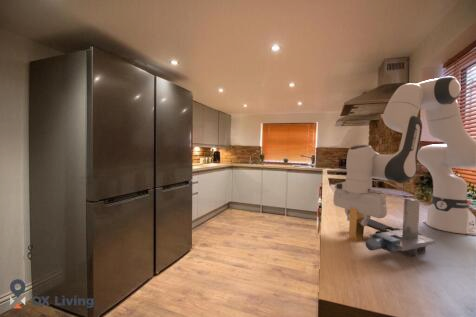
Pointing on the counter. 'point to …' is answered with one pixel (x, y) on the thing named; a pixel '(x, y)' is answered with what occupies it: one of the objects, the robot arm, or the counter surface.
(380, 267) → the counter surface
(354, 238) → the orange wooden block
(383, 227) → the zipper pull
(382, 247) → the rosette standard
